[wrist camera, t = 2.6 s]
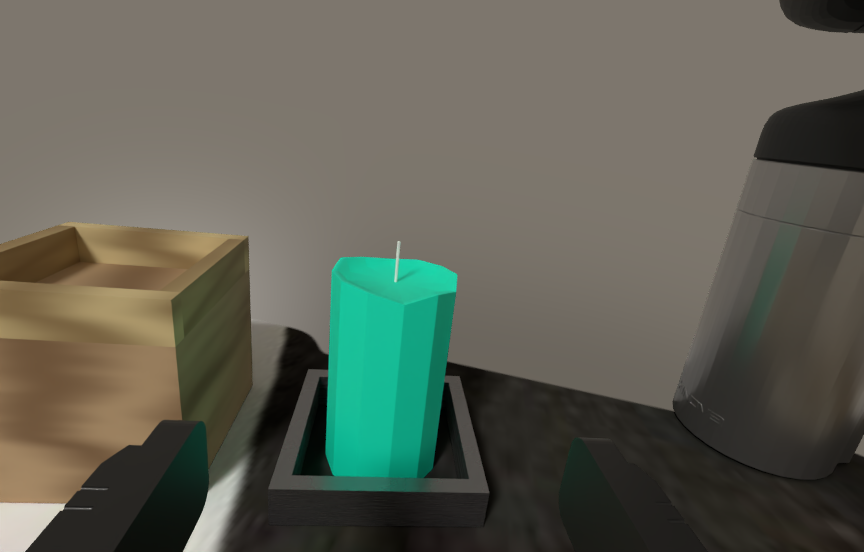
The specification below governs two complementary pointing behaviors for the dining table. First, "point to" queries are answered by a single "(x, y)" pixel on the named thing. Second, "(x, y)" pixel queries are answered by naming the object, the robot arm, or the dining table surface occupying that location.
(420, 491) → the grey square tray
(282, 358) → the dining table surface
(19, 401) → the wooden storage box
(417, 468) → the candle
